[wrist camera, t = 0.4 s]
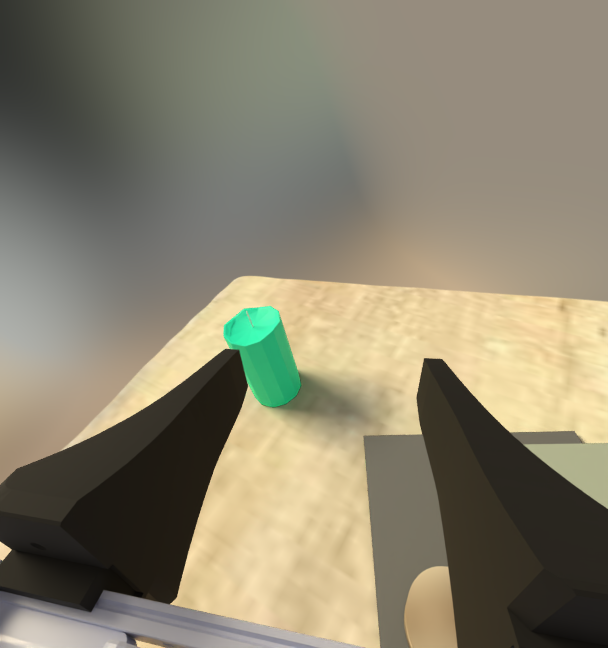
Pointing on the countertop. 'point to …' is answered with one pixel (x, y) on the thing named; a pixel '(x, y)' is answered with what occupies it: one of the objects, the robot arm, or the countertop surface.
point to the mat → (410, 520)
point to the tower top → (579, 465)
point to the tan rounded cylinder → (430, 611)
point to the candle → (264, 354)
